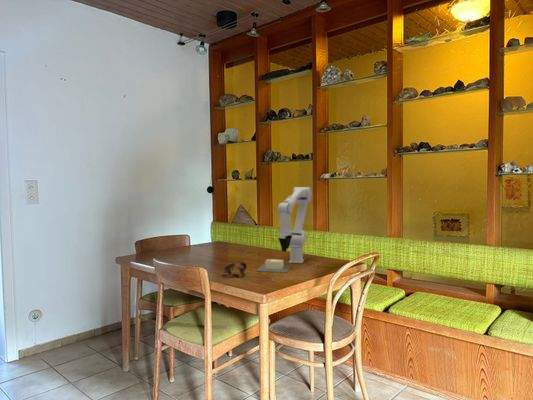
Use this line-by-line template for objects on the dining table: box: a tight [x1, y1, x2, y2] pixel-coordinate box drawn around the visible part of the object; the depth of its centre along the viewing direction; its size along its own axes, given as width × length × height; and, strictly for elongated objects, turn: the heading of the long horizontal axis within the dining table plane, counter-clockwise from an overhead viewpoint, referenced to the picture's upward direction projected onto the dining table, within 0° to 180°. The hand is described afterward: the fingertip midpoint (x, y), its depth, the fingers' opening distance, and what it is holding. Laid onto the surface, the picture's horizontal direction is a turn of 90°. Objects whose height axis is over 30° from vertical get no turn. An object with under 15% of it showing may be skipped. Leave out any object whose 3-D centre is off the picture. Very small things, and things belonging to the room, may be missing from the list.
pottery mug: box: [223, 260, 248, 279], centre depth 200 cm, size 12×10×8 cm
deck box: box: [264, 258, 285, 269], centre depth 214 cm, size 9×5×4 cm, turn 77°
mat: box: [255, 263, 293, 274], centre depth 214 cm, size 16×16×1 cm
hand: (285, 249), depth 217 cm, fingers open, 7 cm apart
